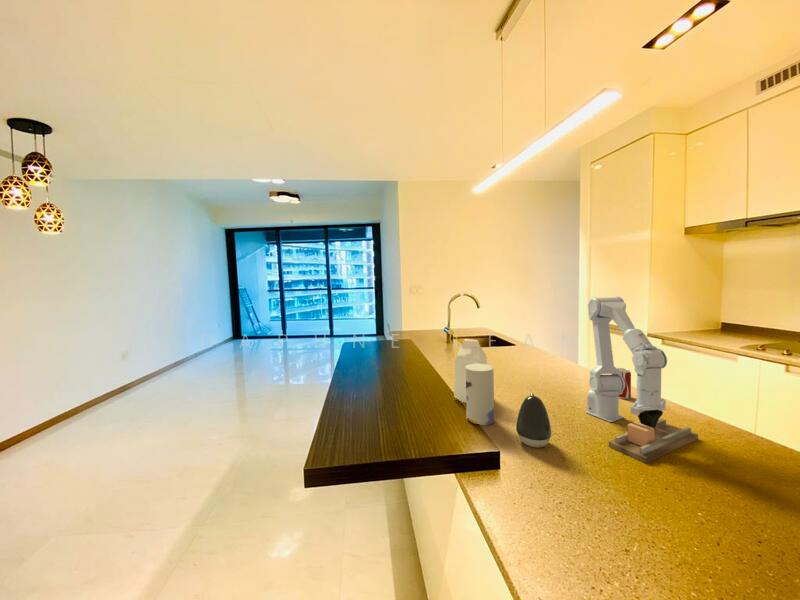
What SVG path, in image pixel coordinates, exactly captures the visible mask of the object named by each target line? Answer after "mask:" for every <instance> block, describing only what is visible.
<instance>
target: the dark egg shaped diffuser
mask: <svg viewBox="0 0 800 600" xmlns="http://www.w3.org/2000/svg"><path fill="white" fill-rule="evenodd" d="M515 428H516V433H517V435H518V437H519V439H520V441H521V442H522V443H523V444H524V445H526V446H529V447H530V448H531V447H532V448H543V447H545V446H546V445H548V443H549V442H550V439H551V438H552V425H551V422H550V418H549V413H548V410H547V407H546V406H545V403H544V402H543V400H542V399H541V398H540V397H538V396H536V395H535V394H534V393H533V392H531V393H530V395H528V396H526V397H525V398H524V399H523V401H522V403H521V405H520V408H519V412H518V415H517V420H516V427H515Z"/></svg>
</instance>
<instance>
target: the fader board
mask: <svg viewBox="0 0 800 600" xmlns="http://www.w3.org/2000/svg"><path fill="white" fill-rule="evenodd" d="M698 439H699V434H698V433H695V432H692V427H690V426H685V427H684V428H680V427H678V426H674V425H671V424H669V423H667V419H665V418H662V419H661V418H660V419H659V420H658V422H657V424H656V427H655V430H654V441H653V442H651V443H649V444H646V445H644V446H640V445H637V444H635V443H633V442H630V441H628V431H627V432H624V433H622V434H620V435H617V436H615V437H614V439H612V440H610V441H608V447H609V448H611V449H614V450H615V451H617V452H620V453H622V454H624V455H626V456H629V457H631V458H633V459H635V460H637V461H639V462H642V463H644V464H648V463H651V462H652V461H654V460H657V459H658V458H661V457H662V456H664V455H667V454H669V453H671V452H673V451H675V450H677V449H680V448H682V447H684V446H687V445H688V444H691V443H692V442H695V441H697V440H698Z"/></svg>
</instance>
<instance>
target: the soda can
mask: <svg viewBox="0 0 800 600" xmlns="http://www.w3.org/2000/svg"><path fill="white" fill-rule="evenodd" d="M616 368H617V367H616ZM617 369H618V370H620V371H621V372H622V377H623V379H624V381H625V388H624V390H623V391H622V392H621V394H620V395H619V399H621V398H623V399H622V400H630V399H631V398H632V372H631V370H630V369H628V368H623V367H618V368H617Z"/></svg>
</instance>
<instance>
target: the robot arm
mask: <svg viewBox="0 0 800 600" xmlns="http://www.w3.org/2000/svg"><path fill="white" fill-rule="evenodd" d="M587 309H588V318H589V321H591V322H592V332H593V340H594V348H595V357H596V364H597V365H596V366H595V367H593V369H591V370H590V371H589V381H588V382H589V386H590V388H591V389H589V390H588V392H587V394H586V411H585V414H588V415H591V416H593V417H596V418H599V419H601V420H604V421H606V422H609V423H613V422H616V421H619V420H623V419H624V418H625V416H624V415H621V414H619V412H620V410H619V408H620V407H619V403H620V402H619V401H620V400H619V399H620V398H619V395H620V394H621V392H622V391H623V390H624V388H625V381H624V379H623V377H622V372H621V371H620V370H618V369H617V367H616V366H615V364H614V363H615V362H614V356H613V355H614V354H613V347H612V338H611V332H610V323H611V321H613V322H614V323H615V324H616V326H617V327H618V328H619V329H620V330H621V332H622V333H623V335H622V340H623V342H624V343H625V345H626V346H627V347H628V349H629V350H630V353H632V356H631V360H632V363H633V367H634V371H635V373H636V400H635V401H634V403H633V405H631V406H630V411H629V412H630V414H632V415H635V416H637V418H638V419H639V423H641V424H644V425H647V426H649V427H652V428H654V430H655V427H656V424H657V422H658V420H660V419H661V417H662V415H663V413H664V412H663V411H665V410H666V403H667V402H666V399H664V398H662V369H665V367H666V366H667V365H668V364H667V363H668V357H667V355H666V353H665V352H664V350H663V349H661V348H658V347H657V346H654V345H653V344H652V342H651V341H650V340H649V338H648V337H647V336H646V334H645V333H644V332H643V330H641V329H638V328H636V327H635V325H634V324H633V323H632V321H631V320H632V319H630V317H629V315H628V314H627V310H626V309H627V304H626V302H625V300H624V299H623V297H621V296H612V297H609V296H608V297H591V298H590V300H589V302H588V304H587Z"/></svg>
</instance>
